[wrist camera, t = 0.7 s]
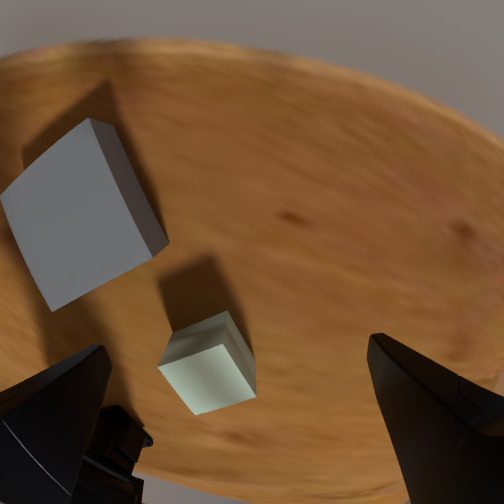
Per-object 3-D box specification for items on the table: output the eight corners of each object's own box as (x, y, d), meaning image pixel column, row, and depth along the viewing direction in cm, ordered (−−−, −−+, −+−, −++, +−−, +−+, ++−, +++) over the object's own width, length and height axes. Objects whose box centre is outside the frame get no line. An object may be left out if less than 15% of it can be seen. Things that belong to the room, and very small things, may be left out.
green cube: (202, 376, 24) (195, 415, 19) (173, 331, 23) (157, 367, 18) (254, 357, 24) (256, 396, 19) (227, 309, 23) (222, 343, 18)
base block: (76, 293, 22) (52, 312, 18) (28, 191, 20) (-1, 196, 16) (169, 243, 21) (153, 257, 17) (113, 125, 19) (88, 117, 15)
